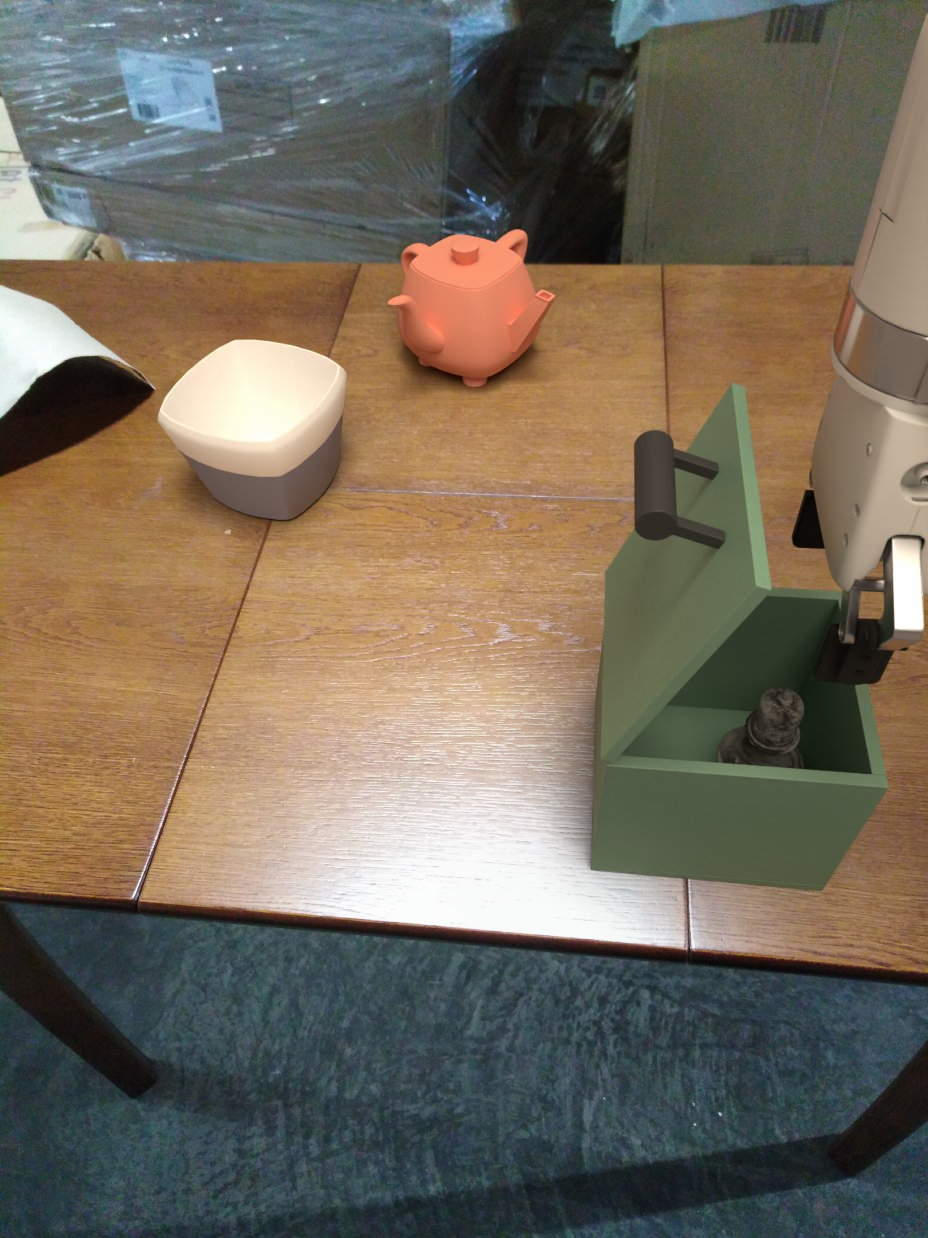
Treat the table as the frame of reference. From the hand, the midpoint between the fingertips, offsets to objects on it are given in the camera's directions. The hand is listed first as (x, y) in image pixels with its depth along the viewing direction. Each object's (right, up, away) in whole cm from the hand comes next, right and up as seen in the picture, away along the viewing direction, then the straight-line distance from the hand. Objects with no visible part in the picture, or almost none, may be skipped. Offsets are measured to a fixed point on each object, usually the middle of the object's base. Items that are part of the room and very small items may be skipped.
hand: (830, 607), depth 49 cm
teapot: (-20, +28, +52) cm, 63 cm away
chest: (-3, -13, +17) cm, 21 cm away
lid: (-8, +1, 0) cm, 9 cm away
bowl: (-39, +13, +41) cm, 58 cm away
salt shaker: (+1, -13, +16) cm, 20 cm away
